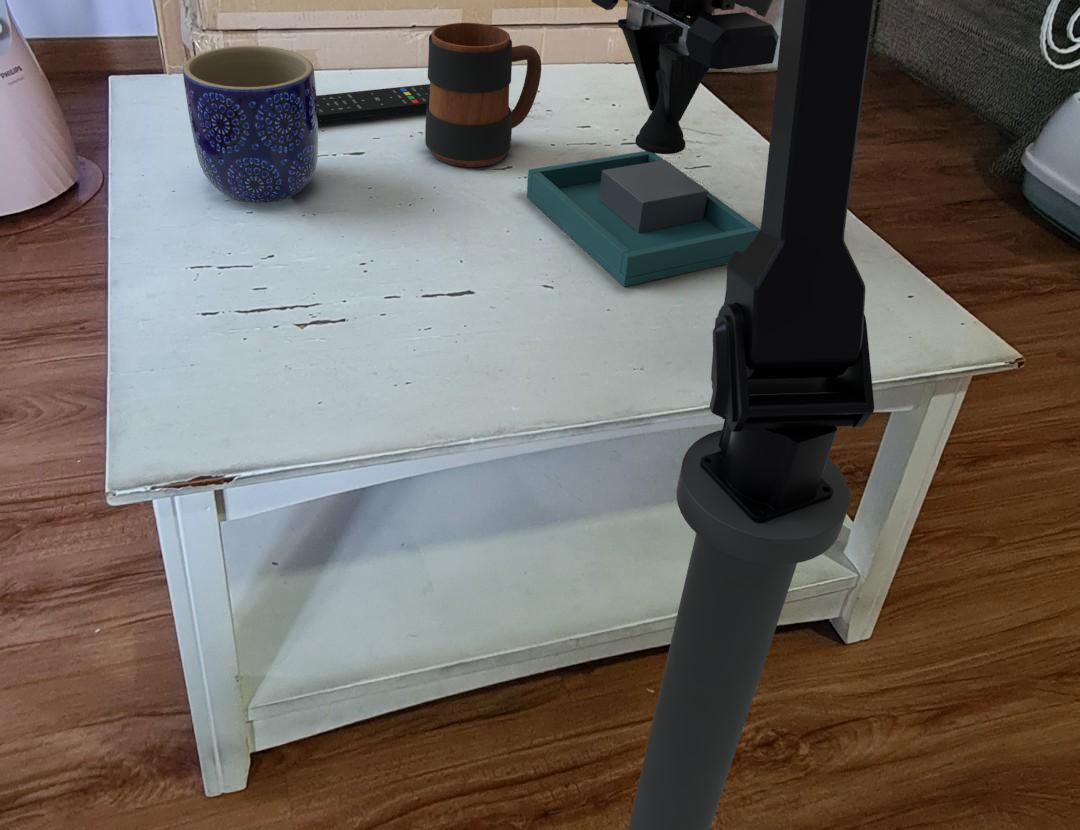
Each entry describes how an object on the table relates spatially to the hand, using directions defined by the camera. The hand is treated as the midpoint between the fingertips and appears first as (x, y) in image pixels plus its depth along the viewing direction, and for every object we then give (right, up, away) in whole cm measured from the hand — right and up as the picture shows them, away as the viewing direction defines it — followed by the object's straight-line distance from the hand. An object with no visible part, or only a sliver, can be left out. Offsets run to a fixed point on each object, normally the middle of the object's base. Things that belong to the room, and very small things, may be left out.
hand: (664, 116), depth 86 cm
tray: (-2, -9, +5) cm, 10 cm away
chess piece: (0, -2, +2) cm, 3 cm away
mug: (-17, +1, +16) cm, 23 cm away
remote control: (-31, +6, +21) cm, 38 cm away
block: (-1, -7, +6) cm, 9 cm away
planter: (-36, -5, +6) cm, 37 cm away
